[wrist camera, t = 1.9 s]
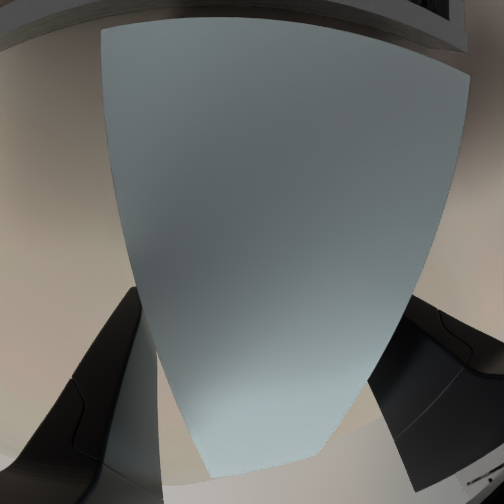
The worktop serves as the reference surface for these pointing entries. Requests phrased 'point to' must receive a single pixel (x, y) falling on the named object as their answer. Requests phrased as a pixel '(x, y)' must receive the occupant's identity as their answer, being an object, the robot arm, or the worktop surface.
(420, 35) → the rack
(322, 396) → the panel
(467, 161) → the worktop surface
